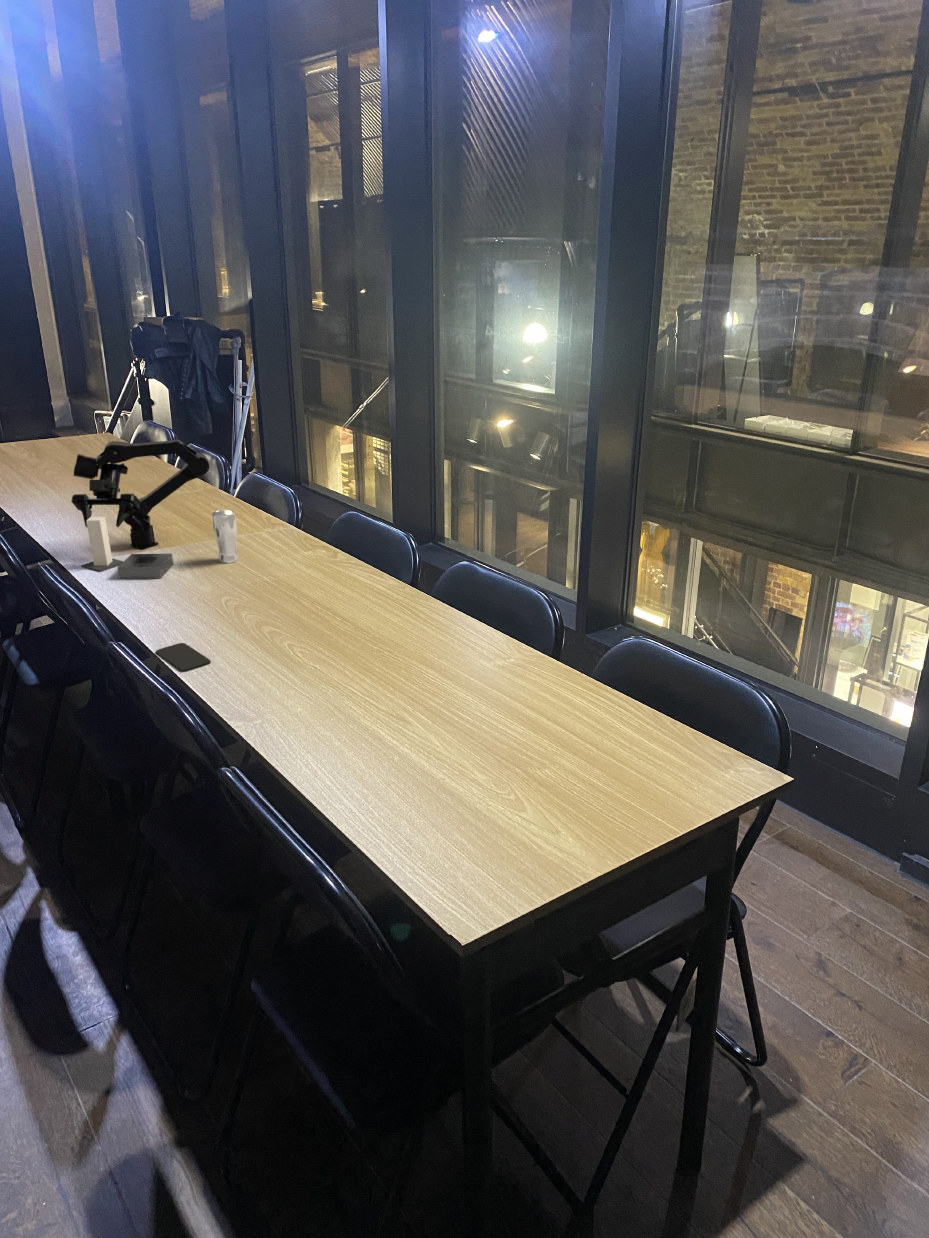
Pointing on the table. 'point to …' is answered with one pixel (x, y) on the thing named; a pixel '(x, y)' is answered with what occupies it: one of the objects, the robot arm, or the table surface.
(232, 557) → the beer glass
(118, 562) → the mat
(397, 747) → the table surface
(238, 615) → the table surface
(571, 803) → the table surface
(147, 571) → the socket block
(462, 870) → the table surface
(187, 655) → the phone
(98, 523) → the peg
